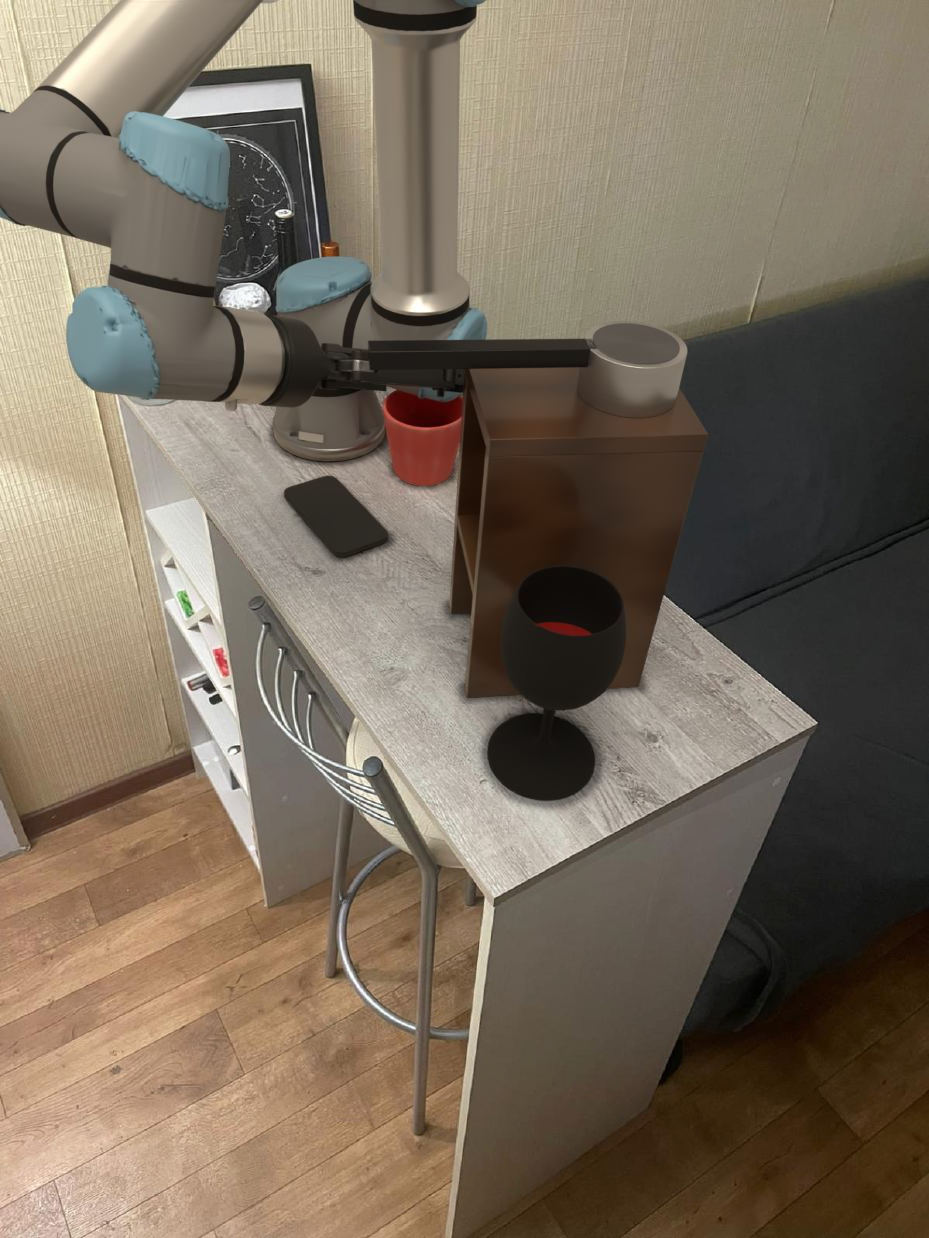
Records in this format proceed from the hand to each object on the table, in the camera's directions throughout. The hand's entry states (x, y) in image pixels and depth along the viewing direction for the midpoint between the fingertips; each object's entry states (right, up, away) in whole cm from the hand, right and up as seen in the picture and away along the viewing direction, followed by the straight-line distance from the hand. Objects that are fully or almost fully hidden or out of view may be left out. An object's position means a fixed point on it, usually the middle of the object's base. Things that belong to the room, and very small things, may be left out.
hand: (430, 379), depth 93 cm
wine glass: (+11, -38, -6) cm, 40 cm away
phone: (-13, -12, +19) cm, 26 cm away
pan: (+9, -5, -16) cm, 19 cm away
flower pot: (-2, -5, +28) cm, 29 cm away
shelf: (+12, -27, +5) cm, 30 cm away
